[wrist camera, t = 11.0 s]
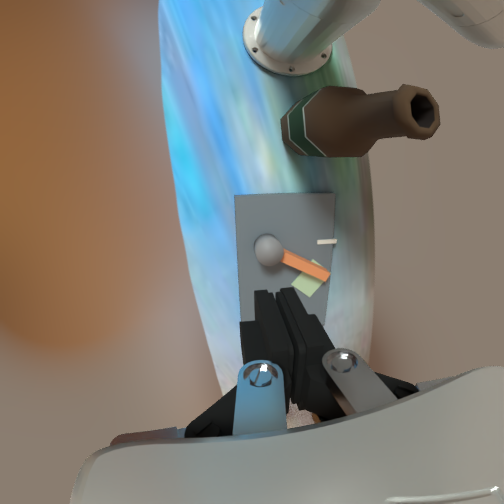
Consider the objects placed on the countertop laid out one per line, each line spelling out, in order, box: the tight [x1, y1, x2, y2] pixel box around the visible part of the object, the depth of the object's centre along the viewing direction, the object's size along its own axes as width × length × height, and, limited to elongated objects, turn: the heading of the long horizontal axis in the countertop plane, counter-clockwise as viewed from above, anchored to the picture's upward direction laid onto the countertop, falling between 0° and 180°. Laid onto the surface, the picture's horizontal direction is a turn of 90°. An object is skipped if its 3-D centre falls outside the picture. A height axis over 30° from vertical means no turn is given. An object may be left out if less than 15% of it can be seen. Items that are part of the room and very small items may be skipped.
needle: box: [253, 234, 330, 282], centre depth 38 cm, size 12×4×3 cm, turn 63°
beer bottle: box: [281, 84, 440, 157], centre depth 23 cm, size 8×8×24 cm
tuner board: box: [234, 192, 337, 325], centre depth 41 cm, size 22×14×1 cm, turn 2°
